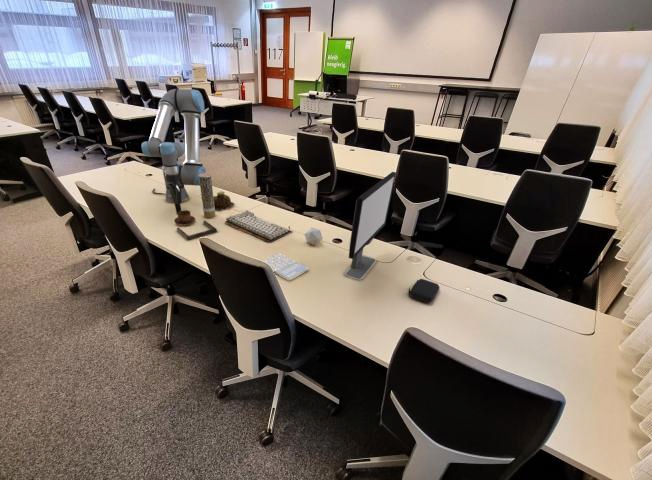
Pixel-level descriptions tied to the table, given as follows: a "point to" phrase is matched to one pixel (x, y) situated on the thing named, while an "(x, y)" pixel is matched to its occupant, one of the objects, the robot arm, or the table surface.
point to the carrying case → (424, 290)
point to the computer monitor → (368, 224)
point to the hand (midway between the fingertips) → (179, 214)
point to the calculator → (285, 266)
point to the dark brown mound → (222, 201)
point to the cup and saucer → (184, 218)
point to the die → (313, 236)
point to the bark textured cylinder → (207, 195)
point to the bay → (212, 230)
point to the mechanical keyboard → (256, 226)
